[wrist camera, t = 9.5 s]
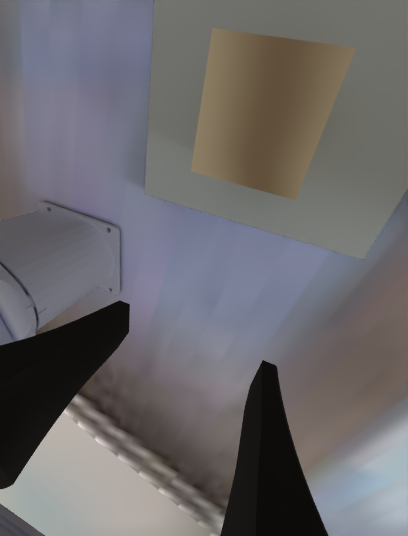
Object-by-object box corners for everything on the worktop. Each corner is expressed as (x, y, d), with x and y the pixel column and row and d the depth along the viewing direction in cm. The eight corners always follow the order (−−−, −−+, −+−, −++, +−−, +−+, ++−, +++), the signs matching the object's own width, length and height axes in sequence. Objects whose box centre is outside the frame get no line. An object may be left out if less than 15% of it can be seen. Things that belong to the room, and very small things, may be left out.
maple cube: (220, 163, 15) (190, 171, 11) (241, 66, 13) (212, 27, 9) (296, 183, 14) (295, 200, 10) (336, 82, 12) (356, 47, 8)
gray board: (152, 191, 19) (144, 194, 18) (167, -26, 13) (156, -40, 12) (359, 252, 16) (363, 260, 15) (510, 1, 10) (534, -16, 9)
